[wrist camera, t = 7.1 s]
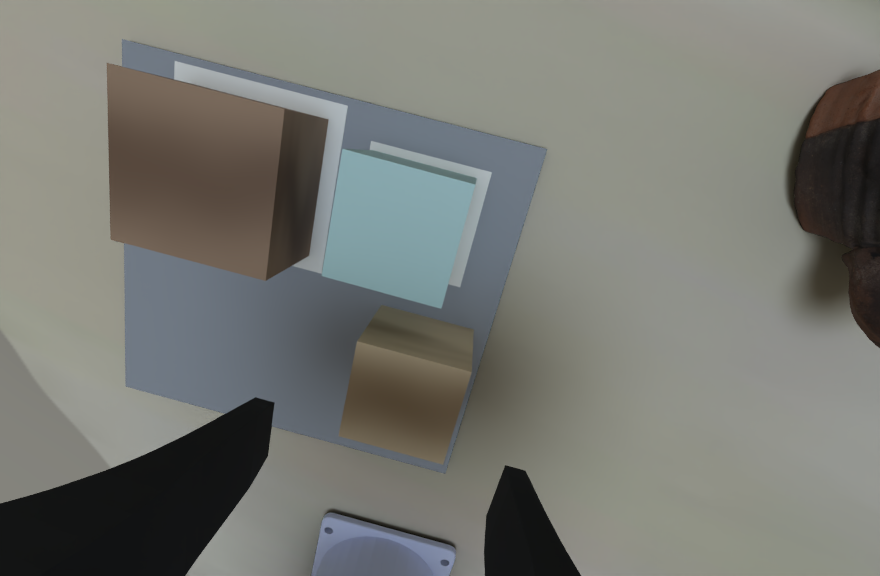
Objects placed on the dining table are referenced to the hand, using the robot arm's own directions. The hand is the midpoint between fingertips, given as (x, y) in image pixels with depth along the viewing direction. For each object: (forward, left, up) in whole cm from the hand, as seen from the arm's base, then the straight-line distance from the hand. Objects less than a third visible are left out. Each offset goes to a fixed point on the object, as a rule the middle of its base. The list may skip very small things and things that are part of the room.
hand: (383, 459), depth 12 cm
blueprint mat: (+1, +6, -8) cm, 10 cm away
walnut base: (+6, +9, -8) cm, 13 cm away
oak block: (-1, 0, -8) cm, 8 cm away
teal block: (+6, +2, -8) cm, 10 cm away
